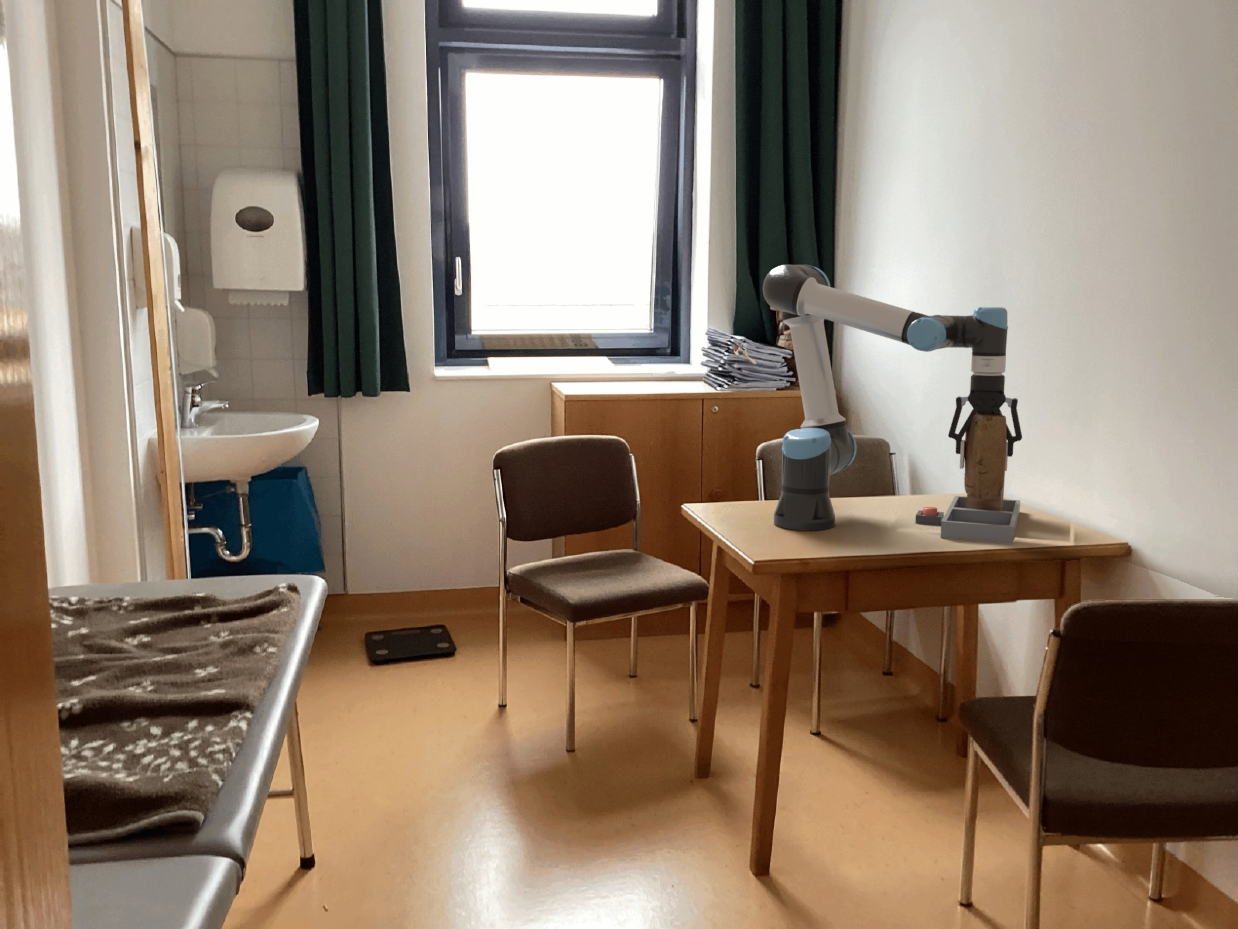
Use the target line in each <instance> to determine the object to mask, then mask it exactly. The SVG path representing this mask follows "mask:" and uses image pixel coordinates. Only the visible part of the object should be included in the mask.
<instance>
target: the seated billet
mask: <svg viewBox="0 0 1238 929" xmlns="http://www.w3.org/2000/svg"><path fill="white" fill-rule="evenodd" d="M1006 442H1008V441H1007V439H1006ZM1005 476H1006V472H1005V473H1004V480H1005ZM1004 492H1005V484H1004V485H1003V488H1002V493H1001V496H1000V497H999V498H996V499H978V498H973V497H971V496H969V495H968V494H967V493H966V497H967V507H966V508H969V509H982V510H995V511H1003V499H1004V495H1005V494H1004Z"/></svg>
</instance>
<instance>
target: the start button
mask: <svg viewBox="0 0 1238 929" xmlns="http://www.w3.org/2000/svg"><path fill="white" fill-rule="evenodd" d="M922 511H923V515H931V516H937V512H938V507H935V506H923V507H922Z"/></svg>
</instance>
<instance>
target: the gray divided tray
mask: <svg viewBox="0 0 1238 929" xmlns="http://www.w3.org/2000/svg"><path fill="white" fill-rule="evenodd" d="M966 507H967V496H963V495H954V498H953V500H951V503H950V505H949V507H948V508H947V510H946V512H945V513H944V517H943V519H942V521H941V525H940V539H951V540H961V541H974V542H984V543H985V542H986V543H997V544H1007V545H1008V544H1009V545H1013V544H1014V540H1015V533H1016V529H1017V524H1018V520H1019V518H1020V517H1019V516H1020V512H1021V511H1020V510H1021V500H1020V499H1019V500H1018V499H1004V498H1003V511H995V510H982V509H969V508H966Z"/></svg>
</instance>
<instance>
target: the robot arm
mask: <svg viewBox="0 0 1238 929" xmlns="http://www.w3.org/2000/svg"><path fill="white" fill-rule="evenodd" d="M762 293H763V297H764V298H763V299H764V300H765V301H766V303H767V304H768V305H769V306H770V307H771V308H772V309H774V310H775V311H778V312H781V318H782V323H783V324H785V325H786V326H788V327H789V331H790V335H791V336H790V337H791V342H792V348H793V354H794V359H795V366H796V367H795V368H796V372H797V377H798V383H799V384H798V385H799V389H800V390H799V391H800V396H801V401H802V408H803V414H804V419H803V422H802V424H801V425H800V428H796V429H791V430H789V431H787V432H786V433H785V434H784V436H783V437H782V446H781V493H780V496H779V499H778V502H777V505H776V508H775V511H774V513H773V524H774V525H775V526H777V527H780V528H783V529H787V530H794V531H795V530H796V531H821V530H822V531H823V530H829V529H831V528H834V527H835V526H836V514H835V510H834V507H833V505H832V500H831V497H830V476H831V475H833V474H839V473H840V472H842V471H843V472H844V470H845V469H847V468H848V467H849V466H851V464H852V463H853V461H854V460H855V458H856V455H857V441H856V439H855V437H854V435H853V433H851V431H849V430H848V425H847V420H846V418H845V417H844V416H842V415H841V414H840V413H839V408H838V402H837V401H838V400H837V396H836V390H835V385H834V384H835V383H834V378H833V372H832V366H831V359H830V353H829V347H828V340H827V336H826V329H825V328H826V327H825V323H824V322H825V320H827V321H831V322H834V323H837V324H840V325H843V326H847V327H851V328H854V329H856V330H857V329H858V330H860V331H864V332H866V333H871V334H873V335H878V336H880V337H883V338H886V339H890V340H892V341H893V340H894V341H897V342H899V343H902V344H906V345H909V346H910V347H912V348H913V349H914V350H917V351H921V352H928V353H929V352H932V351H937V350H940V349H946V348H952V349H953V348H955V349H957V348H962V349H964V348H965V349H970V348H971V350H972V352H971V364H970V366H971V368H970V371H971V372H972V374H971V375H970V386H969V387H970V388H969V389H970V390H969V394H968V395H967V396H960V395H959V396H957V397H956V398H955V406H956V407H955V411H954V414H953V417H952V421H951V424H950V427H949V431H948V435H947V436H948V438H950V439H953V440H954V441H955V454H956V455H959V469H961V470H962V469H965V439H963V437H964V436H965V435H966V431H967V429H968V427H969V425H970V424H971V422H972V417H973V416H974V415H975V414H977V413H979V414H983V413H988V414H995V415H1001V414H1002V415H1003V413H1002V411H1001V408H1002V406H1003V405H1004V404H1005V403H1006V404H1007V407H1009V408H1010V413H1011V414H1010V415H1011V419H1012V425H1013V428H1014V429H1013V430H1014V436H1013V435H1012V432H1011V430H1010V428H1009V425H1008V424H1007V423H1006V439H1007V442H1006V461H1005V472H1007V470H1008V460H1009V459H1008V458H1010V457H1013V454H1014V445H1015V443H1016V442H1020V441H1022V439H1023V434H1022V429H1021V424H1020V418H1019V414H1018V409H1017V407H1018V403H1019V402H1018V401H1019V399H1018V397H1014V398H1012V397H1011V398H1010V397H1006V395H1005V385H1006V384H1005V382H1006V376H1005V375H1004V373H1005V372H1006V362H1007V343H1008V341H1007V339H1008V338H1007V337H1008V330H1009V326H1008V310H1007V309H1006V308H1005V307H1000V306H987V307H985V306H984V307H983V306H981V307H978V306H977V307H975V308H974V309H973V313H972V315H946V314H945V315H943V314H942V315H941V314H934V315H928V314H927V315H926V314H923V313H920V312H916V311H913V310H910V309H906V308H903V307H901V306H900V307H899V306H896V305H893V304H889V303H885V302H883V301H880V300H875V299H872V298H869V297H865V296H862V295H859V294H855V293H853V292H848V291H844V290H841V289H838V288H835V287H831V283H830V280H829V278H828V276H827V274H826V273H825V272H824V271H823V270H821V269H820V268H818V267H816V266H813V265H810V264H805V263H803V264H781V265H778V266H776V267H774V268H772V269H771V270H770V271H769V272H768V273H767V274H766V276H765V278H764V279H763V283H762ZM967 402H968V403H969V404H970V406H971V407H972V409H971V411H970V413H969V415H968V417H967V418H966V420H965V421H964V423H963V425H962V427H961V429H960V431H959V432H958V433H956V431H957V428H958V425H959V424H958V423H959V420H960V417H961V413H962V411H963V410H962V409H963V407H964V406H965V405H966V403H967Z"/></svg>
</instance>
